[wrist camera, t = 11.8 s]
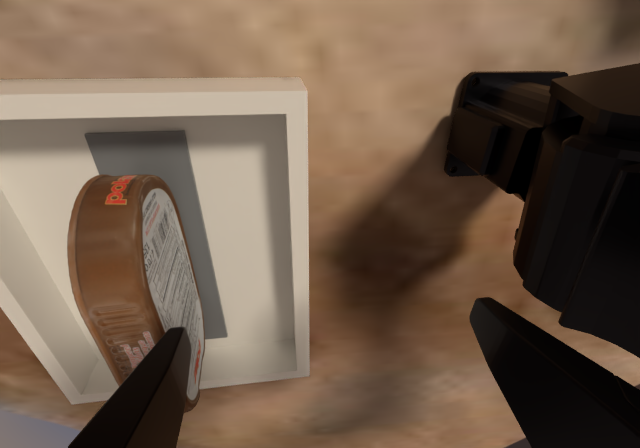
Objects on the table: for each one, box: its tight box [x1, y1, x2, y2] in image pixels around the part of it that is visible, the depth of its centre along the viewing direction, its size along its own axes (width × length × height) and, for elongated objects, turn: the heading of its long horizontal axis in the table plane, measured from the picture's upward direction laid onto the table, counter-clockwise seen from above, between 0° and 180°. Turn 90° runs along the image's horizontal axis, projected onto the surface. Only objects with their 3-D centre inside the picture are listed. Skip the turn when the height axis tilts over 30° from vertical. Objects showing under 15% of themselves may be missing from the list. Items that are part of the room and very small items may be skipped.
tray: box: [0, 77, 310, 404], centre depth 21 cm, size 18×22×4 cm
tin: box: [67, 174, 205, 413], centre depth 18 cm, size 15×3×8 cm, turn 179°
